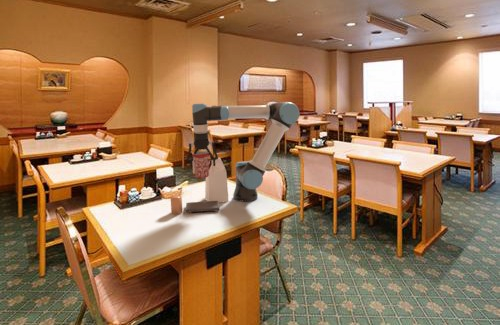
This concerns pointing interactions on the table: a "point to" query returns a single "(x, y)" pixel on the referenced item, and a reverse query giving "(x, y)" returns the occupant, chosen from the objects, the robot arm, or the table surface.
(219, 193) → the milk
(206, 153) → the mug
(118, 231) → the table surface
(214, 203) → the board
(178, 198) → the brown short cylinder
